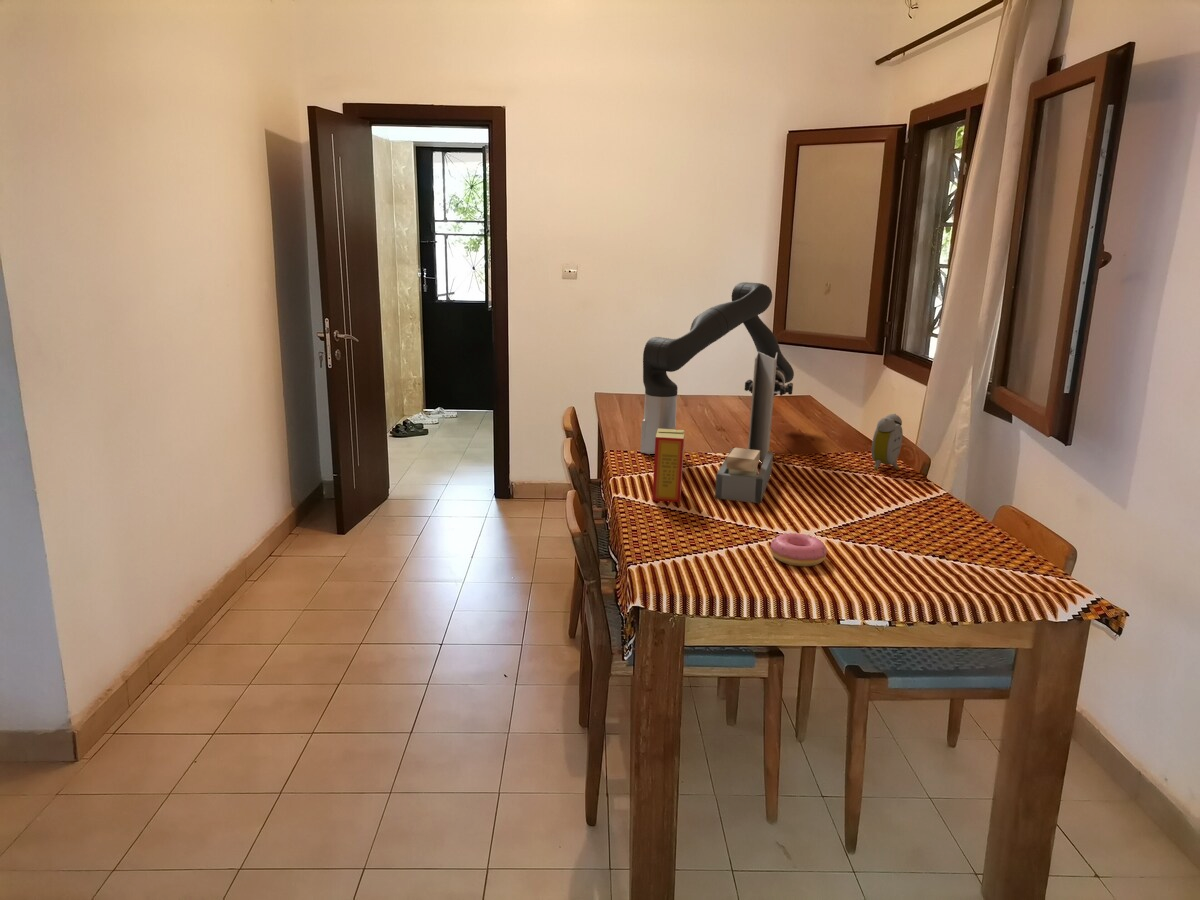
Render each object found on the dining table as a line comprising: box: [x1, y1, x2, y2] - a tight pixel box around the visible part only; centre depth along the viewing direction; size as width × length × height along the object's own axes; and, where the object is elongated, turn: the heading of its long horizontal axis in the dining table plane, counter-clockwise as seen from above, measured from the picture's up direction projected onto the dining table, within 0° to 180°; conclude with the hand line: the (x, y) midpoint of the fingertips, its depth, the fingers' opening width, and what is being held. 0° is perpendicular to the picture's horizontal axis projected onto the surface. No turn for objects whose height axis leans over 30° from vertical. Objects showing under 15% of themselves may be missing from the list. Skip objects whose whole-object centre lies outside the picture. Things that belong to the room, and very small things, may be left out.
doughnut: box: [770, 532, 828, 567], centre depth 162 cm, size 11×11×4 cm
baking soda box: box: [651, 428, 686, 503], centre depth 197 cm, size 10×6×16 cm
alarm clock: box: [870, 413, 903, 471], centre depth 228 cm, size 12×7×15 cm, turn 145°
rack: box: [714, 447, 774, 504], centre depth 209 cm, size 11×27×6 cm, turn 163°
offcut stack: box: [726, 447, 760, 477], centre depth 202 cm, size 7×10×10 cm
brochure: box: [747, 352, 777, 464], centre depth 231 cm, size 14×6×30 cm, turn 166°
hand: (766, 391), depth 243 cm, fingers open, 8 cm apart
